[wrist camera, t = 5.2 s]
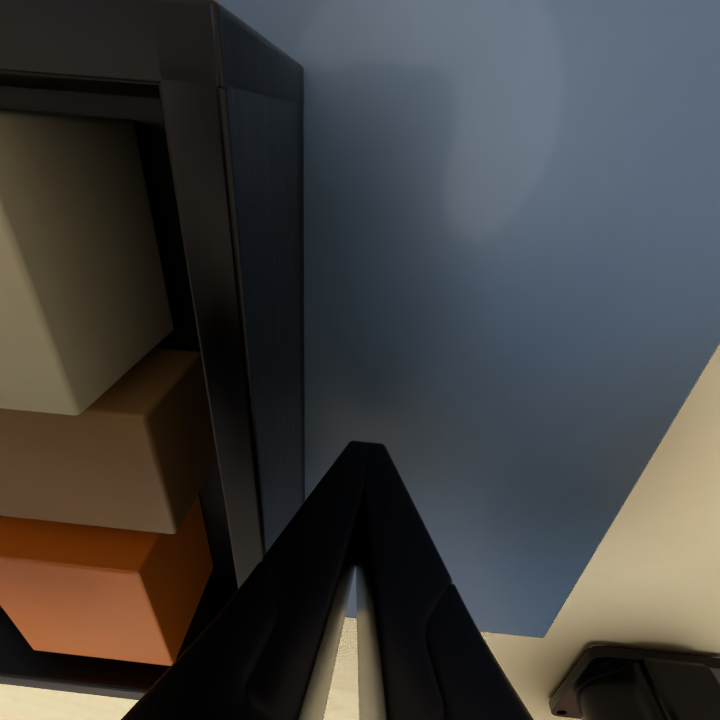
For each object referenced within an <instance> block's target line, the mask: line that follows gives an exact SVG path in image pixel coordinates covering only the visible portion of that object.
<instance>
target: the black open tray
mask: <svg viewBox="0 0 720 720" xmlns="http://www.w3.org/2000/svg"><path fill="white" fill-rule="evenodd" d="M303 108H304V68H303V66H302V65H301V64H300V63H298V62H297V61H296V60H294V59H293V58H292V57H290V56H289V55H288V54H286V53H285V52H284V51H282V50H281V49H280V48H278V47H277V46H276V45H274V44H273V43H272V42H270V41H269V40H268V39H266V38H265V37H264V36H262V35H261V34H259V33H258V32H257V31H255V30H254V29H253V28H251V27H250V26H249V25H247V24H246V23H245V22H243V21H242V20H241V19H239V18H238V17H237V16H235V15H234V14H233V13H231V12H230V11H229V10H227V9H226V8H225V7H223V6H222V5H221V4H219V3H218V2H217V1H215V0H0V684H8V685H17V686H25V687H33V688H42V689H50V690H59V691H67V692H75V693H84V694H92V695H101V696H109V697H117V698H126V699H134V700H140V699H141V698H142V697H143V695H144V694H145V693H146V692H147V691H148V690H149V689H150V688H151V687H152V686H153V685H154V684H155V683H156V681H157V680H158V679H159V678H160V677H161V676H162V675H163V674H164V673H165V672H166V671H167V670H168V668H169V667H170V666H171V665H172V664H173V663H174V662H175V661H176V660H177V659H178V658H179V657H180V656H181V654H182V653H183V652H184V651H185V650H186V649H187V648H188V647H189V646H190V645H191V644H192V643H193V642H194V640H195V639H196V638H197V637H198V636H199V635H200V634H201V633H202V632H203V630H204V629H205V628H206V627H207V626H208V625H209V624H210V623H211V621H212V620H213V619H214V618H215V617H216V616H217V615H218V613H219V612H220V611H221V610H222V609H223V608H224V607H225V605H226V604H227V603H228V602H229V600H230V599H231V598H232V597H233V595H234V594H235V593H236V592H237V590H238V589H239V588H240V587H241V585H242V584H243V583H244V582H245V580H246V579H247V578H248V576H249V575H250V574H251V572H252V571H253V570H254V568H255V567H256V566H257V564H258V563H259V562H262V558H263V557H264V555H265V554H266V553H267V551H268V550H269V549H270V547H271V546H272V545H273V543H274V542H275V540H276V539H277V538H278V536H279V535H280V534H281V532H282V531H283V530H284V528H285V527H286V526H287V524H288V523H289V522H290V520H291V519H292V518H293V516H294V515H295V514H296V512H297V511H298V510H299V508H300V507H301V506H302V504H303V503H304V502H305V387H304V114H303Z"/></svg>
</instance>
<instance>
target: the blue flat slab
mask: <svg viewBox="0 0 720 720" xmlns="http://www.w3.org/2000/svg"><path fill="white" fill-rule="evenodd" d="M215 1H217V2H218V3H219V4H221V5H222V6H223V7H225V8H226V9H227V10H229V11H230V12H231V13H233V14H234V15H235V16H237V17H238V18H239V19H241V20H242V21H243V22H245V23H246V24H247V25H249V26H250V27H251V28H253V29H254V30H255V31H257V32H258V33H259V34H261V35H262V36H264V37H265V38H266V39H268V40H269V41H270V42H272V43H273V44H274V45H276V46H277V47H278V48H280V49H281V50H282V51H284V52H285V53H286V54H288V55H289V56H290V57H292V58H293V59H294V60H296V61H297V62H298V63H300V64H301V65H302V66H303V68H304V108H303V114H304V387H305V500H306V499H307V498H308V496H309V495H310V494H311V492H312V491H313V490H314V488H315V487H316V486H317V484H318V483H319V482H320V480H321V479H322V478H323V476H324V475H325V474H326V472H327V471H328V470H329V468H330V467H331V466H332V464H333V463H334V462H335V460H336V459H337V458H338V456H339V455H340V454H341V452H342V451H343V450H344V448H345V447H346V446H347V444H348V443H349V442H350V441H352V440H354V441H364V442H373V443H382V444H384V445H385V447H386V448H387V450H388V452H389V454H390V456H391V458H392V460H393V462H394V464H395V466H396V468H397V470H398V472H399V474H400V476H401V478H402V480H403V482H404V484H405V486H406V488H407V490H408V492H409V494H410V496H411V498H412V500H413V502H414V504H415V506H416V508H417V510H418V512H419V514H420V516H421V518H422V520H423V522H424V524H425V526H426V528H427V530H428V532H429V534H430V536H431V538H432V540H433V542H434V544H435V546H436V548H437V550H438V552H439V554H440V556H441V558H442V560H443V562H444V564H445V566H446V568H447V570H448V572H449V574H450V576H451V578H452V584H455V586H456V588H457V590H458V592H459V594H460V596H461V598H462V600H463V602H464V604H465V606H466V607H467V609H468V611H469V613H470V615H471V617H472V619H473V620H474V622H475V624H476V626H477V628H478V630H479V631H481V632H491V633H500V634H510V635H519V636H528V637H538V638H543V637H544V636H545V634H546V633H547V631H548V629H549V628H550V626H551V624H552V623H553V621H554V619H555V618H556V616H557V614H558V613H559V611H560V609H561V608H562V606H563V604H564V603H565V601H566V599H567V598H568V596H569V594H570V593H571V591H572V589H573V588H574V586H575V584H576V583H577V581H578V579H579V578H580V576H581V574H582V573H583V571H584V569H585V568H586V566H587V564H588V563H589V561H590V559H591V558H592V556H593V554H594V553H595V551H596V549H597V548H598V546H599V544H600V543H601V541H602V539H603V538H604V536H605V534H606V533H607V531H608V529H609V528H610V526H611V524H612V523H613V521H614V519H615V517H616V516H617V514H618V512H619V511H620V509H621V507H622V506H623V504H624V502H625V501H626V499H627V497H628V496H629V494H630V492H631V491H632V489H633V487H634V486H635V484H636V482H637V481H638V479H639V477H640V476H641V474H642V472H643V471H644V469H645V467H646V466H647V464H648V462H649V461H650V459H651V457H652V456H653V454H654V452H655V451H656V449H657V447H658V446H659V444H660V442H661V441H662V439H663V437H664V436H665V434H666V432H667V431H668V429H669V427H670V426H671V424H672V422H673V421H674V419H675V417H676V416H677V414H678V412H679V411H680V409H681V407H682V406H683V404H684V402H685V400H686V399H687V397H688V395H689V394H690V392H691V390H692V389H693V387H694V385H695V384H696V382H697V380H698V379H699V377H700V375H701V374H702V372H703V370H704V369H705V367H706V365H707V364H708V362H709V360H710V359H711V357H712V355H713V354H714V352H715V350H716V349H717V347H718V345H719V344H720V0H215ZM345 617H349V618H357V602H356V566H355V571H354V576H353V581H352V585H351V590H350V595H349V600H348V604H347V609H346V614H345Z"/></svg>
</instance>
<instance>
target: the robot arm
mask: <svg viewBox="0 0 720 720" xmlns="http://www.w3.org/2000/svg"><path fill="white" fill-rule="evenodd" d="M355 566H356V602H357V644H358V686H359V720H533V718H532V716H531V715H530V713H529V712H528V710H527V708H526V707H525V705H524V704H523V702H522V701H521V699H520V697H519V696H518V694H517V693H516V691H515V690H514V688H513V686H512V685H511V683H510V682H509V680H508V678H507V677H506V675H505V674H504V672H503V670H502V669H501V667H500V665H499V664H498V662H497V660H496V659H495V657H494V655H493V654H492V652H491V651H490V649H489V647H488V646H487V644H486V642H485V641H484V639H483V637H482V635H481V634H480V632H479V630H478V628H477V626H476V624H475V622H474V620H473V619H472V617H471V615H470V613H469V611H468V609H467V607H466V606H465V604H464V602H463V600H462V598H461V596H460V594H459V592H458V590H457V588H456V586H455V584H452V578H451V576H450V574H449V572H448V570H447V568H446V566H445V564H444V562H443V560H442V558H441V556H440V554H439V552H438V550H437V548H436V546H435V544H434V542H433V540H432V538H431V536H430V534H429V532H428V530H427V528H426V526H425V524H424V522H423V520H422V518H421V516H420V514H419V512H418V510H417V508H416V506H415V504H414V502H413V500H412V498H411V496H410V494H409V492H408V490H407V488H406V486H405V484H404V482H403V480H402V478H401V476H400V474H399V472H398V470H397V468H396V466H395V464H394V462H393V460H392V458H391V456H390V454H389V452H388V450H387V448H386V447H385V445H384V444H382V443H373V442H364V441H354V440H352V441H350V442H349V443H348V444H347V446H346V447H345V448H344V450H343V451H342V452H341V454H340V455H339V456H338V458H337V459H336V460H335V462H334V463H333V464H332V466H331V467H330V468H329V470H328V471H327V472H326V474H325V475H324V476H323V478H322V479H321V480H320V482H319V483H318V484H317V486H316V487H315V488H314V490H313V491H312V492H311V494H310V495H309V496H308V498H307V499H306V500H305V502H304V503H303V504H302V506H301V507H300V508H299V510H298V511H297V512H296V514H295V515H294V516H293V518H292V519H291V520H290V522H289V523H288V524H287V526H286V527H285V528H284V530H283V531H282V532H281V534H280V535H279V536H278V538H277V539H276V540H275V542H274V543H273V545H272V546H271V547H270V549H269V550H268V551H267V553H266V554H265V555H264V557H263V558H262V562H259V563H258V564H257V566H256V567H255V568H254V570H253V571H252V572H251V574H250V575H249V576H248V578H247V579H246V580H245V582H244V583H243V584H242V585H241V587H240V588H239V589H238V590H237V592H236V593H235V594H234V595H233V597H232V598H231V599H230V600H229V602H228V603H227V604H226V605H225V607H224V608H223V609H222V610H221V611H220V612H219V613H218V615H217V616H216V617H215V618H214V619H213V620H212V621H211V623H210V624H209V625H208V626H207V627H206V628H205V629H204V630H203V632H202V633H201V634H200V635H199V636H198V637H197V638H196V639H195V640H194V642H193V643H192V644H191V645H190V646H189V647H188V648H187V649H186V650H185V651H184V652H183V653H182V654H181V656H180V657H179V658H178V659H177V660H176V661H175V662H174V663H173V664H172V665H171V666H170V667H169V668H168V670H167V671H166V672H165V673H164V674H163V675H162V676H161V677H160V678H159V679H158V680H157V681H156V683H155V684H154V685H153V686H152V687H151V688H150V689H149V690H148V691H147V692H146V693H145V694H144V695H143V697H142V698H141V699H140V700H139V701H138V702H137V703H136V704H135V705H134V706H133V707H132V708H131V709H130V711H129V712H128V713H127V714H126V715H125V716H124V717H123V718H122V719H121V720H323V718H324V713H325V709H326V704H327V699H328V694H329V690H330V685H331V680H332V675H333V671H334V666H335V661H336V656H337V652H338V647H339V642H340V638H341V633H342V628H343V623H344V619H345V614H346V609H347V604H348V600H349V595H350V590H351V585H352V581H353V576H354V571H355ZM549 706H550V710H551V713H552V714H553V715H555V716H561V717H570V718H579V719H582V720H720V658H711V657H701V656H692V655H682V654H673V653H663V652H654V651H645V650H635V649H626V648H616V647H607V646H594V647H591V648H589V649H588V650H586V652H585V653H584V655H583V656H582V657H581V659H580V660H579V661H578V663H577V664H576V665H575V667H574V668H573V670H572V671H571V672H570V674H569V675H568V676H567V678H566V679H565V680H564V682H563V683H562V684H561V686H560V687H559V689H558V690H557V691H556V693H555V694H554V695H553V697H552V698H551V699H550V701H549Z"/></svg>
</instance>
